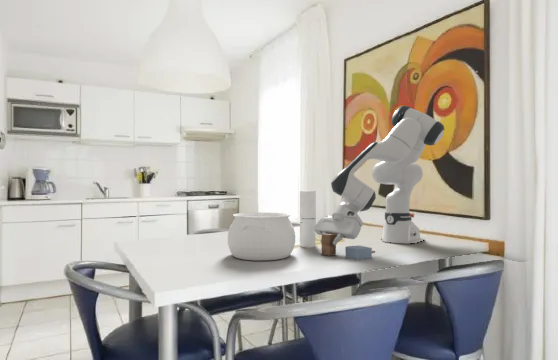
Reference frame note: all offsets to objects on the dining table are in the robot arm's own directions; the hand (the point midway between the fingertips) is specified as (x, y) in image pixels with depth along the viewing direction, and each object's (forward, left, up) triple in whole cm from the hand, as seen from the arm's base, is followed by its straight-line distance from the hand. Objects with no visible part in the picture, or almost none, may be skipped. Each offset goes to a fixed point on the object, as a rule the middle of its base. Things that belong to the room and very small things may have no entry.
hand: (327, 243), depth 148 cm
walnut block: (-1, 0, -4) cm, 4 cm away
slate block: (-7, +10, -5) cm, 13 cm away
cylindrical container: (-9, -21, -5) cm, 23 cm away
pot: (+21, -15, -5) cm, 27 cm away
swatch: (-18, +4, -5) cm, 19 cm away
